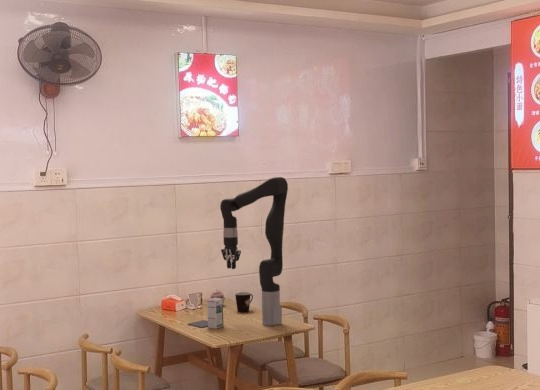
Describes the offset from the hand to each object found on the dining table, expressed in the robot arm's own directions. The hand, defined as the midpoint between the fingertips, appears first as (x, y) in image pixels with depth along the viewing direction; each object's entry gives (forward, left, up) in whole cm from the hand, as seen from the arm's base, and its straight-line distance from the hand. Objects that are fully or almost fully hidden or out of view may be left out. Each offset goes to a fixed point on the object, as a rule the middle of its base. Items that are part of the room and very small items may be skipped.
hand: (231, 268), depth 371 cm
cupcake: (+34, -19, -27) cm, 48 cm away
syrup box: (-7, +18, -27) cm, 33 cm away
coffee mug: (+10, -19, -27) cm, 35 cm away
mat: (+3, +18, -27) cm, 33 cm away
